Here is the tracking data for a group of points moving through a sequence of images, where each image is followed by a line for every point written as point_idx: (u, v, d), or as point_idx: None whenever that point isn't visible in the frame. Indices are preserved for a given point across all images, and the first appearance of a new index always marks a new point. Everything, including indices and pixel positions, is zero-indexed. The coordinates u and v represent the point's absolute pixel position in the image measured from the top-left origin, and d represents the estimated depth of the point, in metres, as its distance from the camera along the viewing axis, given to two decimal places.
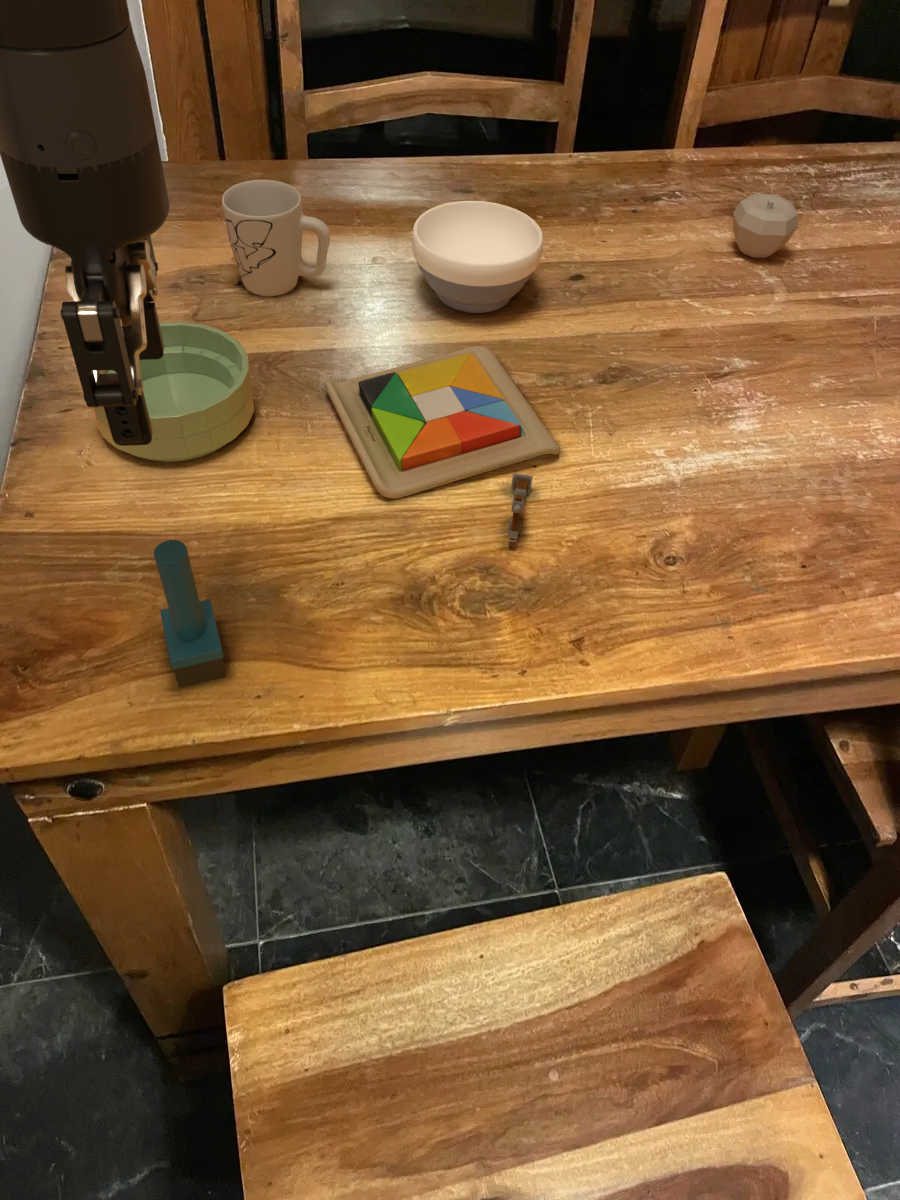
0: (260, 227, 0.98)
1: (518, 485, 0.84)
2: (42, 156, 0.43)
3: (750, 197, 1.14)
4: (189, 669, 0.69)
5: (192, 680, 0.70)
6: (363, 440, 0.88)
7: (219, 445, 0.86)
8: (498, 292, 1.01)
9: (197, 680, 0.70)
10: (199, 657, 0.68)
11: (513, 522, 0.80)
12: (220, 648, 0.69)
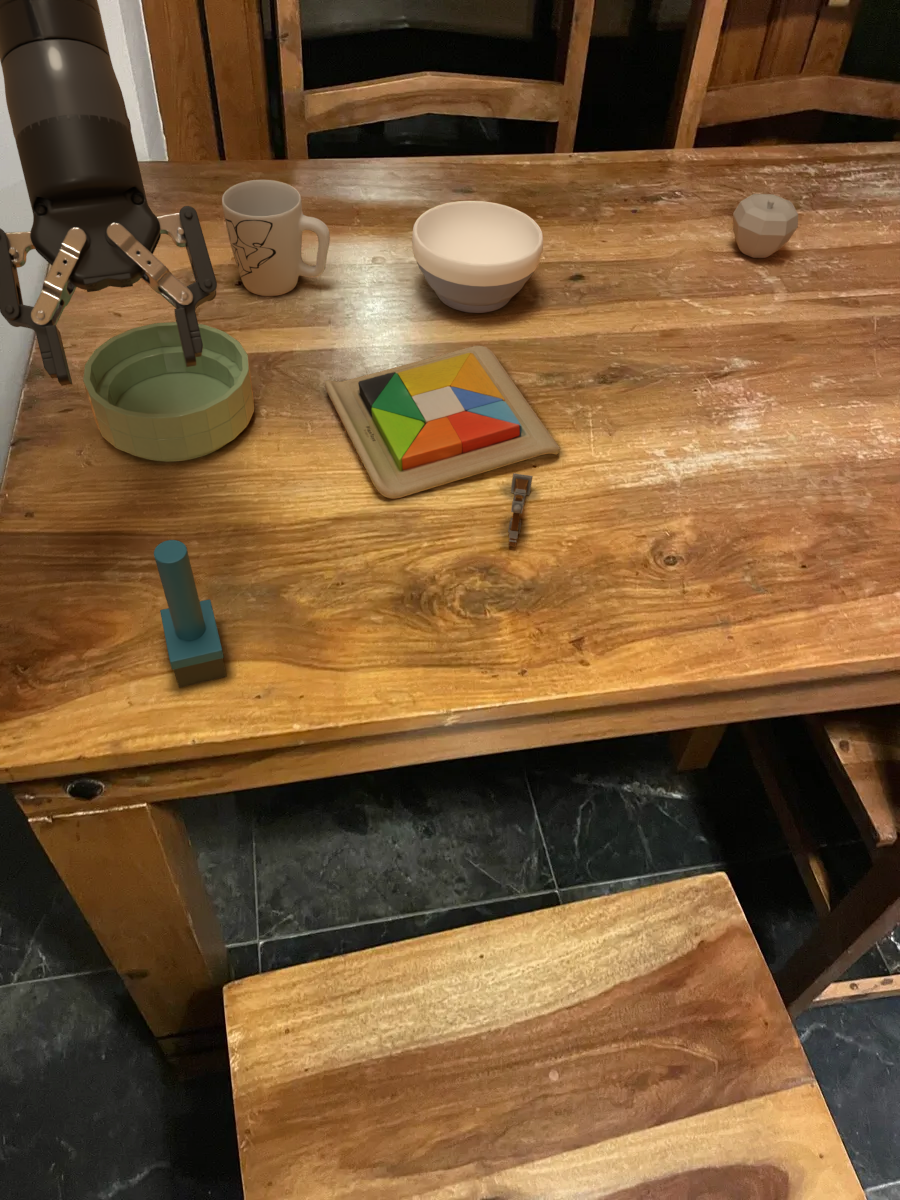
0: (260, 227, 0.98)
1: (518, 485, 0.84)
2: (127, 121, 0.63)
3: (750, 197, 1.14)
4: (189, 669, 0.69)
5: (192, 680, 0.70)
6: (363, 440, 0.88)
7: (219, 445, 0.86)
8: (498, 292, 1.01)
9: (197, 680, 0.70)
10: (199, 657, 0.68)
11: (513, 522, 0.80)
12: (220, 648, 0.69)
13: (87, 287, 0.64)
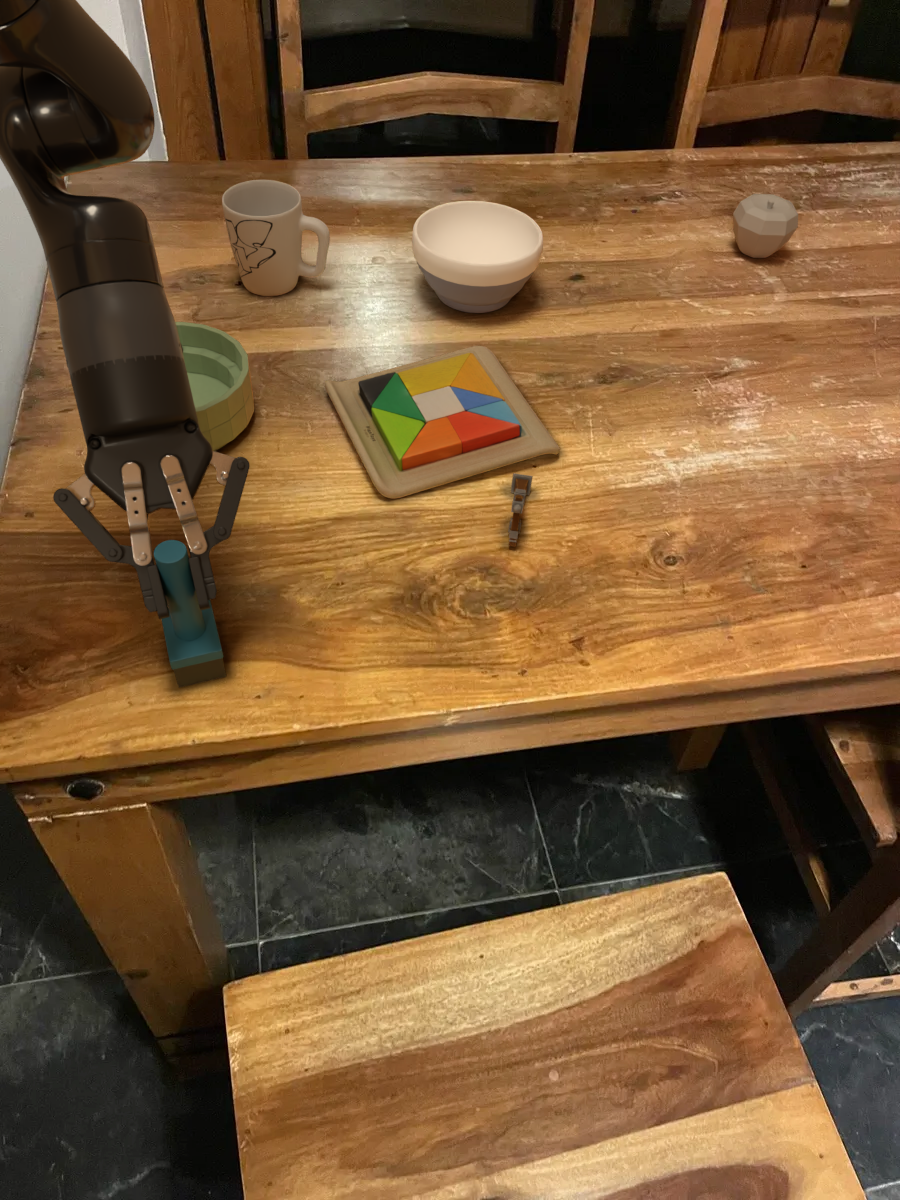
0: (260, 227, 0.98)
1: (518, 485, 0.84)
2: (180, 350, 0.63)
3: (750, 197, 1.14)
4: (188, 669, 0.69)
5: (192, 680, 0.70)
6: (363, 440, 0.88)
7: (219, 445, 0.86)
8: (498, 292, 1.01)
9: (196, 680, 0.70)
10: (199, 657, 0.68)
11: (513, 522, 0.80)
12: (220, 648, 0.69)
13: None
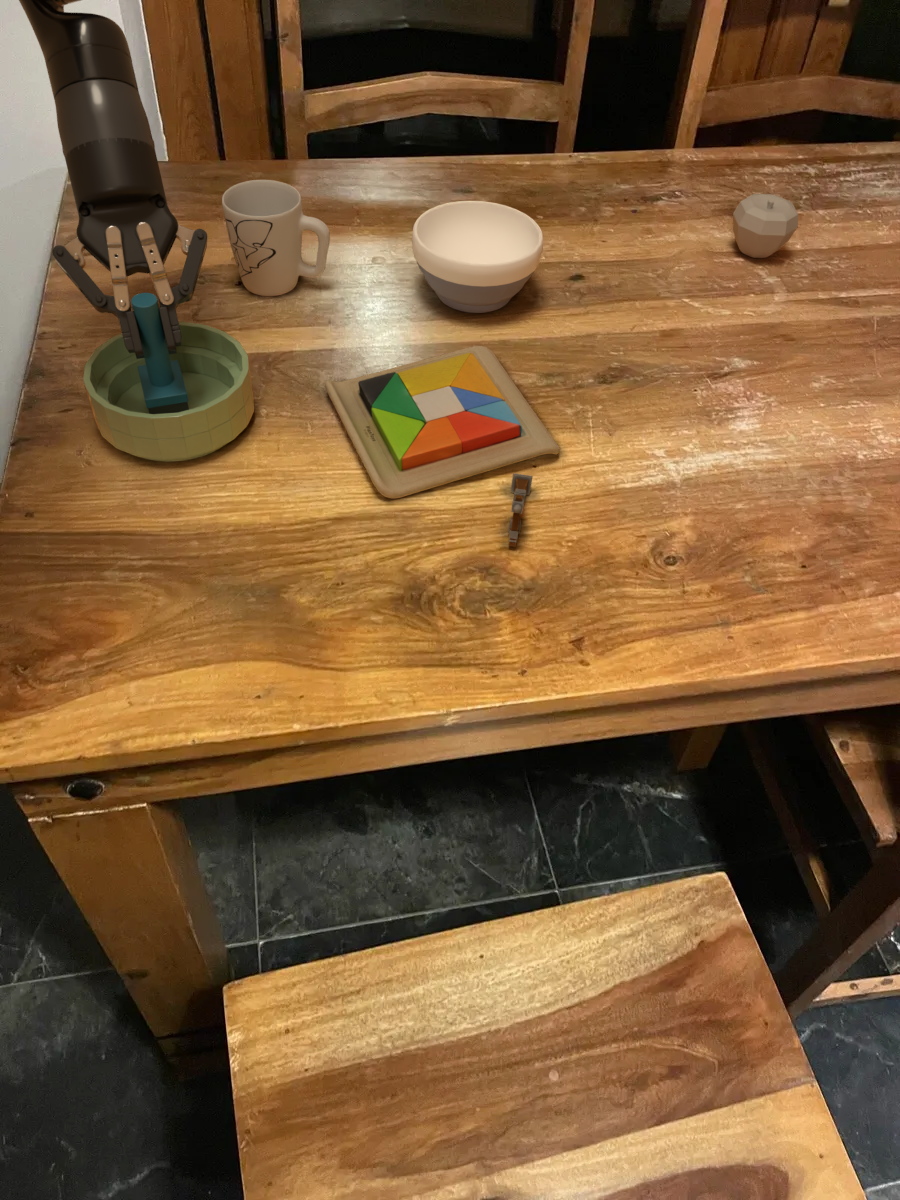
0: (260, 227, 0.98)
1: (518, 485, 0.84)
2: (152, 142, 0.80)
3: (750, 197, 1.14)
4: (160, 410, 0.87)
5: None
6: (363, 440, 0.88)
7: (219, 445, 0.86)
8: (498, 292, 1.01)
9: None
10: (168, 398, 0.86)
11: (513, 522, 0.80)
12: (185, 392, 0.86)
13: None
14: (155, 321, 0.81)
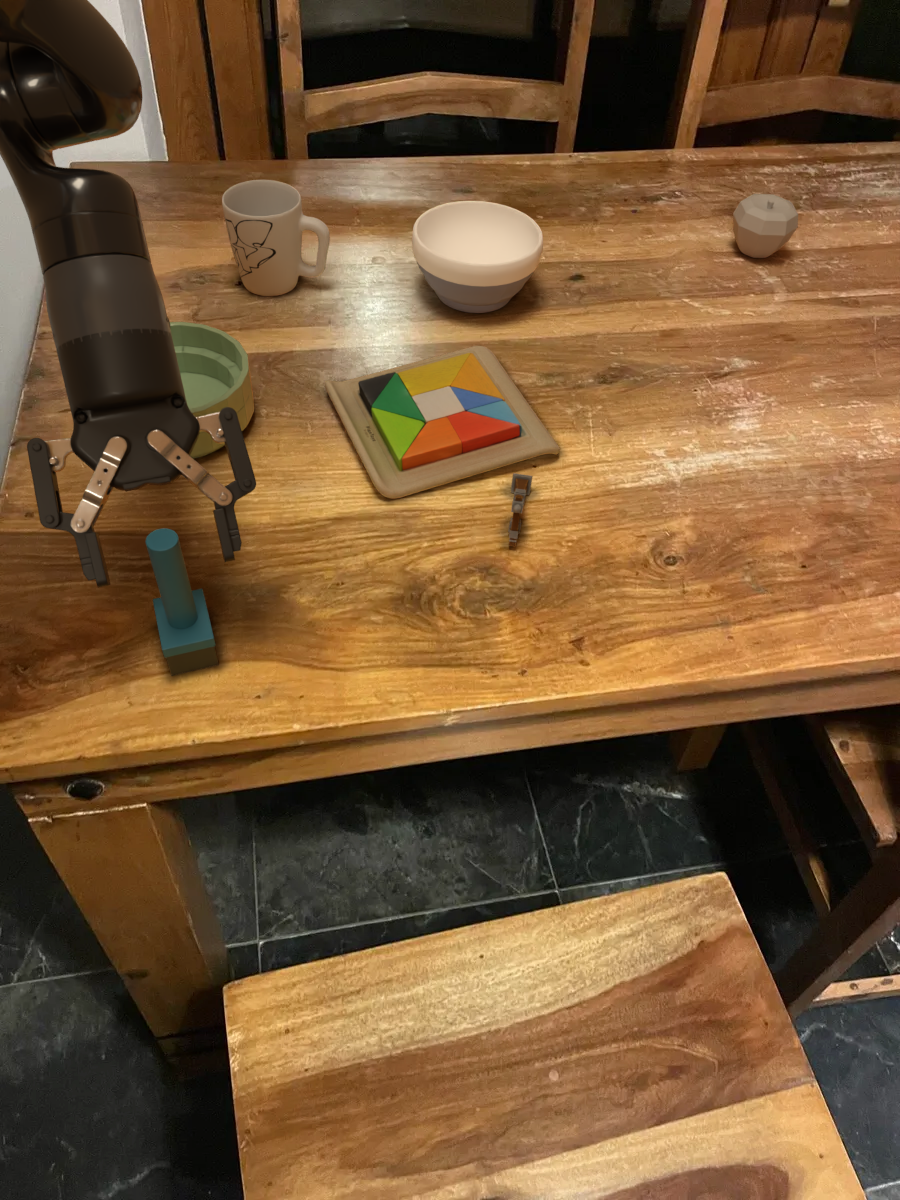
0: (260, 227, 0.98)
1: (518, 485, 0.84)
2: (168, 325, 0.63)
3: (750, 197, 1.14)
4: (181, 657, 0.70)
5: (184, 669, 0.71)
6: (363, 440, 0.88)
7: (219, 445, 0.86)
8: (498, 292, 1.01)
9: (189, 668, 0.71)
10: (191, 645, 0.69)
11: (513, 522, 0.80)
12: (212, 636, 0.69)
13: (126, 490, 0.64)
14: (175, 563, 0.65)
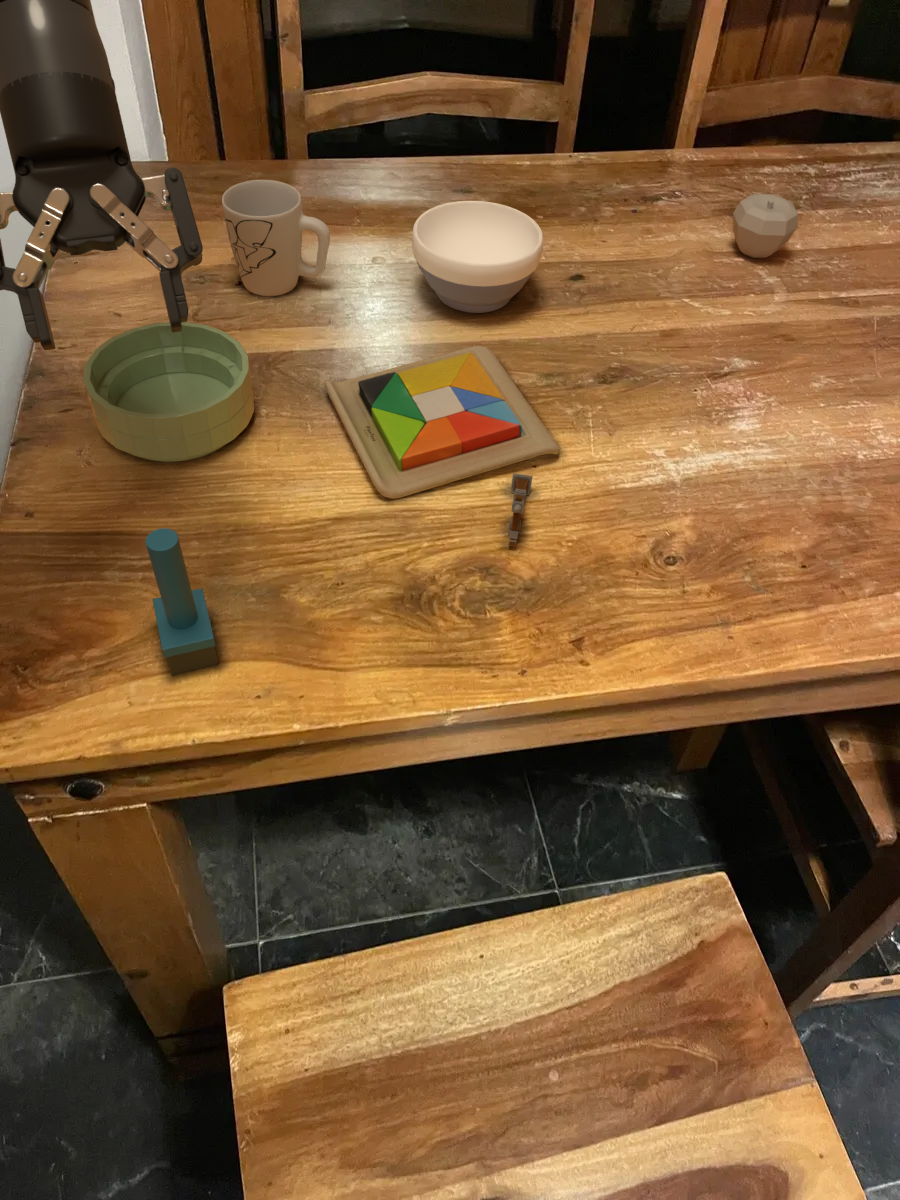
0: (260, 227, 0.98)
1: (518, 485, 0.84)
2: (111, 81, 0.62)
3: (750, 197, 1.14)
4: (181, 657, 0.70)
5: (184, 669, 0.71)
6: (363, 440, 0.88)
7: (219, 445, 0.86)
8: (498, 292, 1.01)
9: (189, 668, 0.71)
10: (191, 645, 0.69)
11: (513, 522, 0.80)
12: (212, 636, 0.69)
13: (70, 250, 0.63)
14: (175, 563, 0.65)
